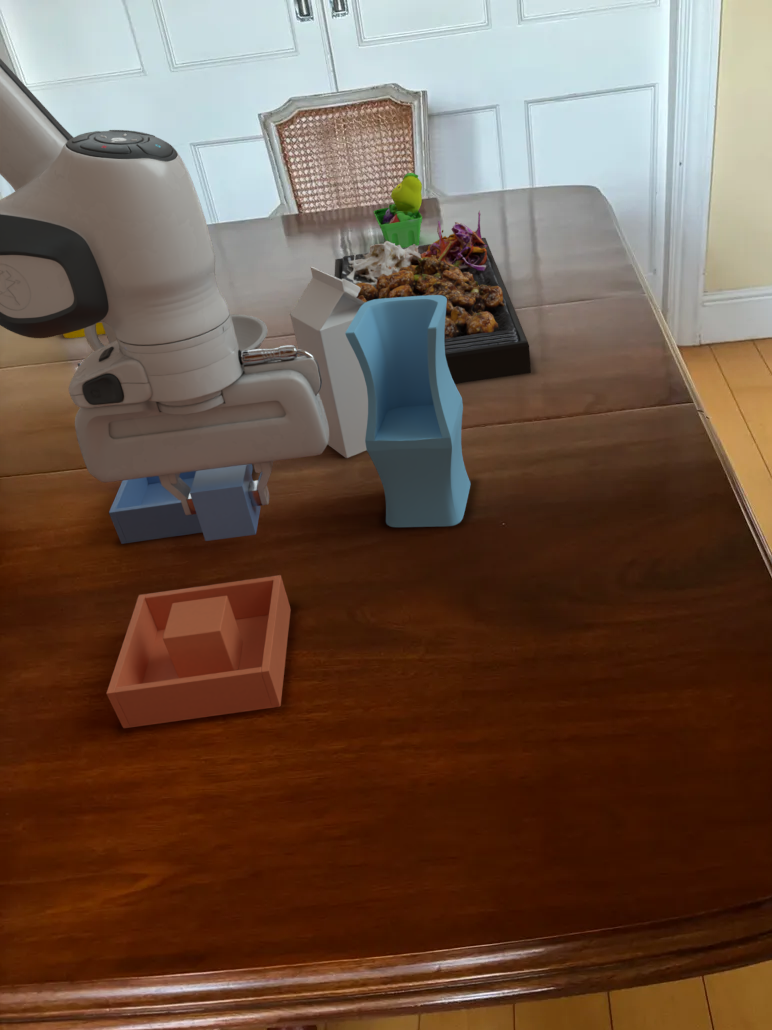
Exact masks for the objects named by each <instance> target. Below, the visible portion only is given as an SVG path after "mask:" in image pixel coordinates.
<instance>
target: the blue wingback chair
mask: <svg viewBox="0 0 772 1030" xmlns="http://www.w3.org/2000/svg"><path fill="white" fill-rule="evenodd" d="M446 306H447V298H446V297H445V296H442V295H426V296H411V297H397V298H383V299H374V300H370V301H368V302H365V303H364V304H363V305H362V306H361V307H360V309H359V310H358V312H357V314H356V315H355V317H354V319H353V321H352V322H351V324H350V326H349V327H348V329H347V331H346V333H345V334H346V337H347V339H348V341H349V343H350V345H351V347H352V349H353V350H354V352H355V355H356V357H357V359H358V361H359V364H360V366H361V369H362V372H363V375H364V378H365V382H366V386H367V394H368V420H367V429H366V437H365V443H366V449H367V450H366V452H367V454H368V456H369V458H370V459H371V462H372V463H373V466H374V467H375V469H376V472H377V474H378V476H379V478H380V482H381V484H382V487H383V491H384V497H385V524H386V525H387V526H389V527H391V528H426V527H429V528H430V527H431V528H433V527H435V528H437V527H454V526H457V525H458V524H460V523H461V522H462V520H463V519H464V515H465V511H466V507H467V503H468V499H469V494H470V490H471V480H470V478H469V475H468V472H467V469H466V465H465V462H464V457H463V448H462V426H463V414H464V413H463V412H464V403H463V397H462V395H461V394H460V391H459V390H458V387H457V385H456V384H455V383H454V381H453V379H452V376H451V374H450V371H449V368H448V365H447V361H446V356H445V345H444V331H445V316H446Z"/></svg>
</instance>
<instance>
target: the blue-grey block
mask: <svg viewBox="0 0 772 1030" xmlns="http://www.w3.org/2000/svg"><path fill="white" fill-rule="evenodd" d="M250 481H254V478H253V475H251V471H250V467H249V464H247V465H239V466H231V467H223V468H216V469H208V470H200V471H196V474H195V477H194V480H193V483H192V487H191V490H190V495H191V498H192V501H193V504H194V507H195V510H196V514H197V517H198V520H199V523H200V526H201V529H202V532H201V533H202V534H203V538H204V541H205V542H210V541H219V540H225V539H233V538H241V537H248V536H249V537H250V536H256V535H257V531H258V524H259V519H260V514H261V506H254V507H253V506H252V505H251V499H250V498H249V494H248V488H249V483H250Z"/></svg>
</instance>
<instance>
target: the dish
mask: <svg viewBox="0 0 772 1030" xmlns="http://www.w3.org/2000/svg"><path fill="white" fill-rule="evenodd" d="M230 314H231V318H232V322H233V326H234V330H235V334H236V338H237V341H238V345H239V350H240V351H244V350H253V349H260V348H261V345H262V343H263V342H264V341H265V339H266V338H267V335H268V326H267V324H266V323H265V322H264V321H263V320H262V319H260V318H259V317H255V316H253V315H249V314H237V313H236V314H235V313H234V314H232V313H230Z"/></svg>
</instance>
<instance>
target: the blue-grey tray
mask: <svg viewBox="0 0 772 1030" xmlns="http://www.w3.org/2000/svg"><path fill="white" fill-rule="evenodd" d="M249 467H250V471H251V475H252V474H253V470H254V466H253V464H249ZM195 474H196V471H192V472H184V473H180V475H179V477H180V478H181V479H182V480H183V481H184V482H185V483H186V484H187V485H188V486H189V487H190V488H191V487H192V483H193V480H194V477H195ZM252 476H253V475H252ZM108 514H109V517H110V519H111V522H112V524H113V527H114V529H115V531H116V534H117V536H118V539H119V542H120V544H122V545H123V544H131V543H137V542H143V541H151V540H158V539H165V538H173V537H181V536H186V535H192V534H193V535H194V534H200V533H201V534H202V533H203V532H202V529H201V526H200V523H199V520H198V517H197V514H193V515H186V514H185V512H184V509H183V506H182V503H181V500H178V499H177V498H176V497H175V496H174V495H172V494H171V493H170V492H169V491H168V490H166V489H165V488H164V487H163V486H162V485H161V482H160V479H159V476H153V477H145V478H138V479H130V480H122V481H121V483H120V485H119V488H118V490H117V493H116V495H115V497H114V499H113V502H112V504H111V506H110V509H109V511H108Z"/></svg>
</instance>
